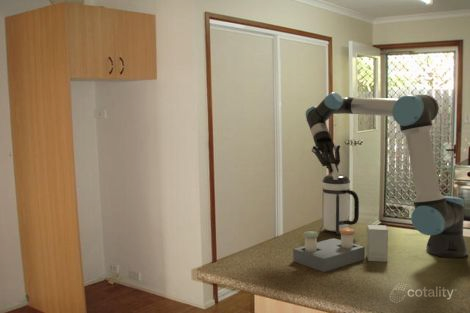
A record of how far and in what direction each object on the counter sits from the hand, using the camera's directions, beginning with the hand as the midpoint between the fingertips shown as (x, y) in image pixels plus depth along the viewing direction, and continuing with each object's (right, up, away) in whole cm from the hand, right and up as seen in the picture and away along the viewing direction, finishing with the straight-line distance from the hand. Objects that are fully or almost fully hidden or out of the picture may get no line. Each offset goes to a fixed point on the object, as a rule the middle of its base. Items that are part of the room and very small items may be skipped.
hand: (336, 177), depth 198 cm
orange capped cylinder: (+2, -30, -11) cm, 32 cm away
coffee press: (+7, -27, +29) cm, 40 cm away
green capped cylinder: (-13, -31, -14) cm, 36 cm away
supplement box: (+14, -31, -11) cm, 36 cm away
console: (-6, -32, -12) cm, 34 cm away
